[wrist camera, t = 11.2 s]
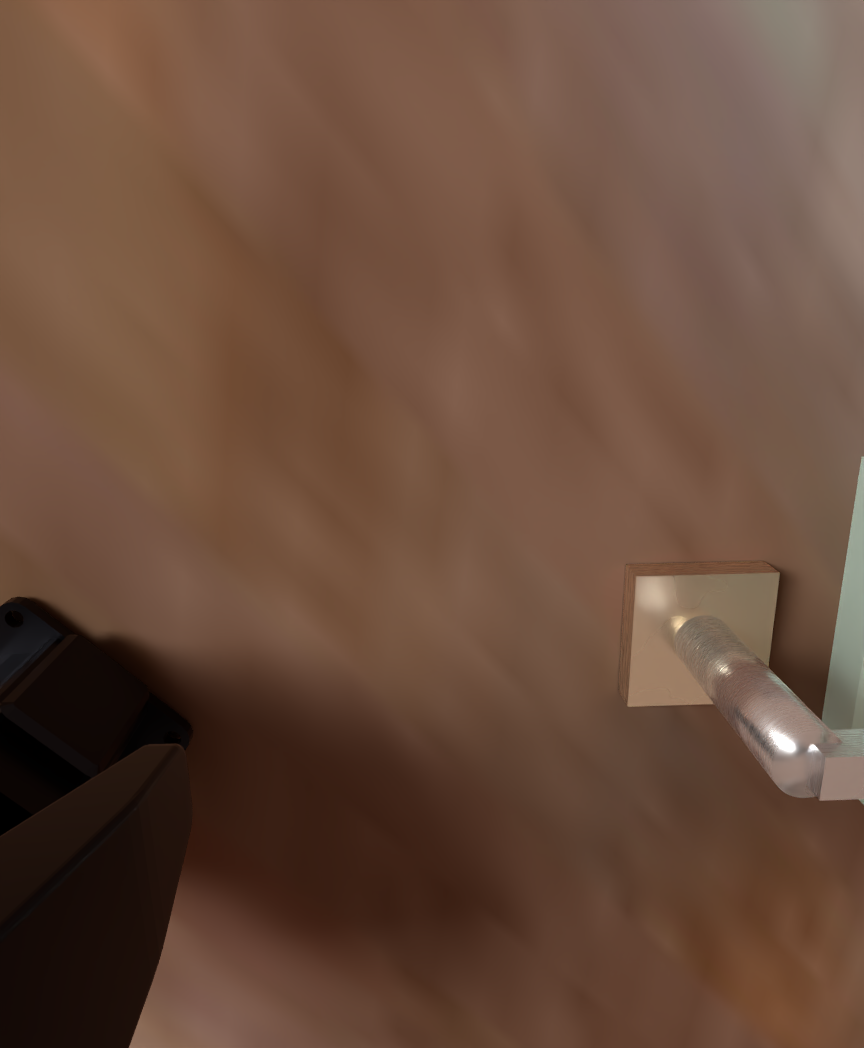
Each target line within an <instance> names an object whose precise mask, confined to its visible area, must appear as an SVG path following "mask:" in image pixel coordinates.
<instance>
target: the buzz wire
mask: <svg viewBox="0 0 864 1048" xmlns="http://www.w3.org/2000/svg"><path fill="white" fill-rule="evenodd" d="M779 576H780V573H779V572H778V571H777V570H775V569H774V568H773V567H771V566H770V565H768V564H767V563H766V562H764V561H743V562H702V563H662V564H626V574H625V590H624V606H623V622H622V638H621V655H620V671H619V687H618V690H619V692H620V694H621V696H622V697H623V699H624V701H625V703H626V705H627V706H628V707H633V706H665V705H698V704H715V706H716V707H717V708H718V710H719V711H720V712H721V714H722V715H723V716H724V717H725V719H726V720H727V721H728V723H729V724H730V725H731V727H732V728H733V729H734V730H735V732H736V733H737V734H738V736H739V737H740V738H741V740H742V741H743V742H744V743H745V745H746V746H747V747H748V749H749V750H750V751H751V753H752V754H753V755H754V756H755V758H756V759H757V760H758V762H759V763H760V764H761V766H762V767H763V768H764V769H765V771H766V772H767V773H768V775H769V776H770V777H771V779H772V780H773V781H774V782H775V784H776V785H777V786H778V787H779V789H780V790H782V791H783V792H784V793H786V794H788V795H790V796H793V797H798V798H810V797H815V796H816V797H817V798H818V799H819V801H823V800H852V799H864V729H837V730H830V729H829V728H828V727H827V726H826V725H825V724H824V723H823V722H822V721H821V720H820V719H819V718H818V717H817V716H816V715H815V714H814V713H813V712H812V711H811V710H810V709H809V708H808V707H807V706H806V705H805V704H804V703H803V702H802V701H801V700H800V699H799V698H798V697H797V696H796V695H795V694H794V693H793V692H792V691H791V690H790V689H789V688H788V687H787V686H786V685H785V684H784V683H783V682H782V681H781V680H780V678H779V677H778V676H777V675H776V674H775V673H774V672H773V671H772V670H771V669H770V668H769V667H768V666H769V658H770V650H771V642H772V633H773V625H774V617H775V609H776V601H777V592H778V584H779Z"/></svg>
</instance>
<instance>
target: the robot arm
mask: <svg viewBox="0 0 864 1048" xmlns="http://www.w3.org/2000/svg"><path fill="white" fill-rule="evenodd" d="M12 611H17V612H19V613H21V615H22V616H23V619H24V622H20V621H18V620H15V618H14V617H13V616H12ZM169 731H174V732H176V733H178V734H179V735H180V736H181V738H180V739H173V738H171V737H170V736H169V735H168V732H169ZM192 736H193V729H192V726H191V725H190V723H189V722H188V721H187V720H186V719H184V718H183V717H182V716H180V715H179V714H178V713H176V712H175V711H174V710H173V709H171V708H170V707H169V706H167V705H166V704H165V703H163V702H162V701H161V700H160V699H158V698H157V697H156V696H154V695H153V694H152V693H150V692H149V691H148V688H147V686H146V685H145V684H143V683H142V682H141V681H139V680H138V679H137V678H136V677H134V676H133V675H132V674H130V673H129V672H128V671H126V670H125V669H124V668H123V667H121V666H120V665H119V664H117V663H116V662H115V661H114V660H112V659H111V658H110V657H108V656H107V655H106V654H104V653H103V652H102V651H101V650H99V649H98V648H97V647H95V646H94V645H93V644H91V643H90V642H89V641H88V640H86V639H85V638H84V637H82V636H81V635H75V634H74V633H72V632H71V631H70V630H69V629H67V628H66V627H65V626H63V625H62V624H61V623H59V622H58V621H57V620H56V619H54V618H53V617H52V616H50V615H49V614H48V613H46V612H45V611H44V610H43V609H41V608H40V607H39V606H37V605H36V604H35V603H34V602H32V601H30V600H29V599H27V598H23V597H15V598H11V599H10V600H8V601H7V602H5V603H4V604H3V605H2V606H0V1048H129V1046H130V1043H131V1040H132V1037H133V1035H134V1032H135V1029H136V1026H137V1023H138V1021H139V1018H140V1015H141V1012H142V1009H143V1006H144V1004H145V1001H146V998H147V995H148V992H149V990H150V987H151V984H152V981H153V978H154V975H155V972H156V969H157V966H158V963H159V960H160V956H161V952H162V949H163V945H164V941H165V937H166V933H167V928H168V924H169V920H170V916H171V911H172V907H173V903H174V899H175V894H176V890H177V886H178V882H179V877H180V873H181V869H182V865H183V860H184V856H185V852H186V848H187V843H188V839H189V835H190V830H191V825H192V800H191V792H190V783H189V775H188V766H187V758H186V753H185V749H186V748H187V746H188V745H189V743H190V741H191V739H192Z"/></svg>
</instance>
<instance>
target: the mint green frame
mask: <svg viewBox="0 0 864 1048" xmlns="http://www.w3.org/2000/svg"><path fill="white" fill-rule="evenodd" d="M821 721H822V722H823V723H824V724H825V725H826V726H827V727H828V728H829V729H830V730H837V729H864V456H862V459H861V465H860V472H859V478H858V485H857V491H856V498H855V504H854V511H853V517H852V524H851V531H850V537H849V544H848V550H847V557H846V563H845V570H844V576H843V583H842V589H841V596H840V603H839V609H838V616H837V622H836V629H835V635H834V642H833V648H832V655H831V662H830V668H829V675H828V681H827V688H826V694H825V701H824V707H823V714H822V720H821ZM859 800H860V802H861V803H862V804H863V805H864V799H859Z"/></svg>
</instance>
